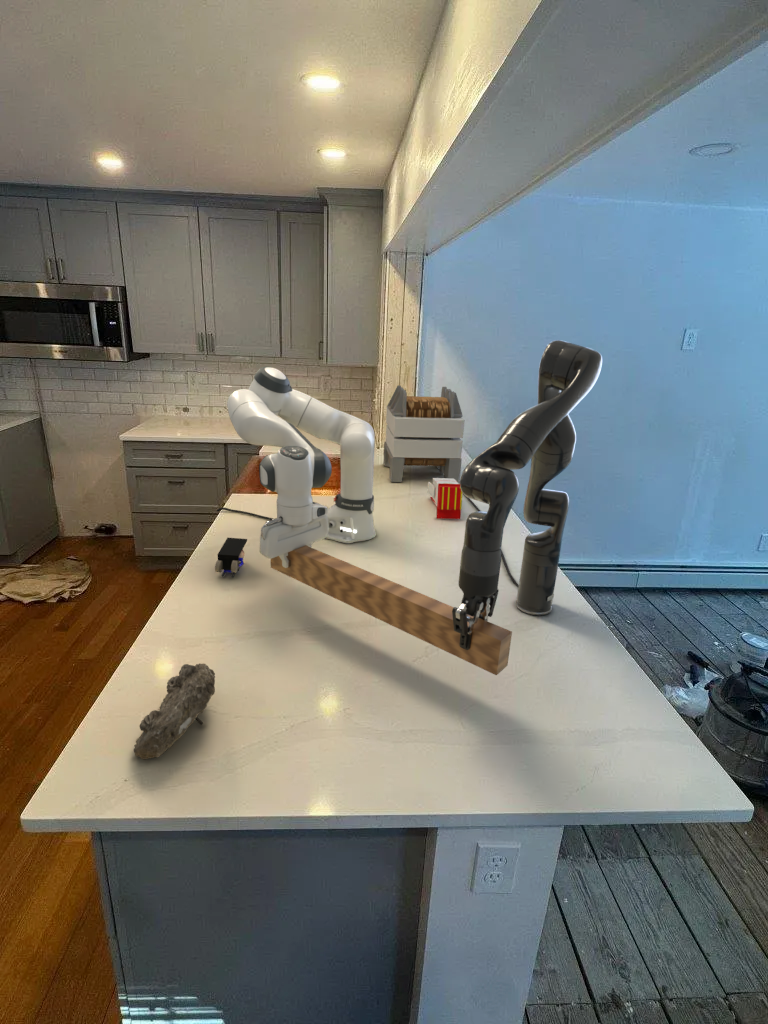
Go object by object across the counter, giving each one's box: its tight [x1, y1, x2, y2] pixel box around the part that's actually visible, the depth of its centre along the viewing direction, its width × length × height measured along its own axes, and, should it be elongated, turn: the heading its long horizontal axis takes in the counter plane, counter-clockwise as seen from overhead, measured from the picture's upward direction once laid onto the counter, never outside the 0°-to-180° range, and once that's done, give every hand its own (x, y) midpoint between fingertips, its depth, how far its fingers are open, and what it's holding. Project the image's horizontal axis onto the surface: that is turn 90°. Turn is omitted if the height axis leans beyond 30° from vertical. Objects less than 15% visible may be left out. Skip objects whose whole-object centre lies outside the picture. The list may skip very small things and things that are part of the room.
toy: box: [427, 477, 463, 520], centre depth 227 cm, size 12×13×30 cm
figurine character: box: [214, 537, 248, 578], centre depth 166 cm, size 7×8×15 cm
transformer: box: [383, 384, 465, 484], centre depth 268 cm, size 34×33×41 cm
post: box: [270, 546, 513, 676], centre depth 129 cm, size 67×4×8 cm, turn 50°
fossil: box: [133, 663, 216, 760], centre depth 105 cm, size 22×10×15 cm
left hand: (295, 563), depth 145 cm, fingers closed on post, 4 cm apart
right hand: (471, 642), depth 114 cm, fingers closed on post, 4 cm apart
